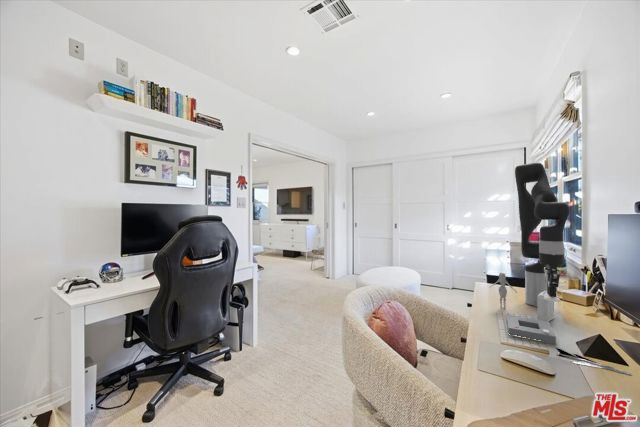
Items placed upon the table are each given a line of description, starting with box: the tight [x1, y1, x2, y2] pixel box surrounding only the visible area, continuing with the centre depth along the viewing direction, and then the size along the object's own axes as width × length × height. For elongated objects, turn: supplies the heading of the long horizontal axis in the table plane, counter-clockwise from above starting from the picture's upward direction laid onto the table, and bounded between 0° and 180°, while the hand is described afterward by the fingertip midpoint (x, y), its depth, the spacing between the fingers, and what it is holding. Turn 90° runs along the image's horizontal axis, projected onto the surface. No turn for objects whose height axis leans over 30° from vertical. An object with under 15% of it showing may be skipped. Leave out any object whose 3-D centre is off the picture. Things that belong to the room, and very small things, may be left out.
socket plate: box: [506, 314, 557, 346], centre depth 106 cm, size 16×14×4 cm
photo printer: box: [536, 291, 556, 322], centre depth 119 cm, size 10×4×12 cm, turn 123°
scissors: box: [555, 347, 633, 377], centre depth 85 cm, size 8×21×2 cm, turn 42°
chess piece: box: [544, 282, 561, 303], centre depth 104 cm, size 5×5×10 cm
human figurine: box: [488, 272, 518, 310], centre depth 132 cm, size 12×4×18 cm, turn 43°
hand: (551, 295), depth 104 cm, fingers closed on chess piece, 2 cm apart
